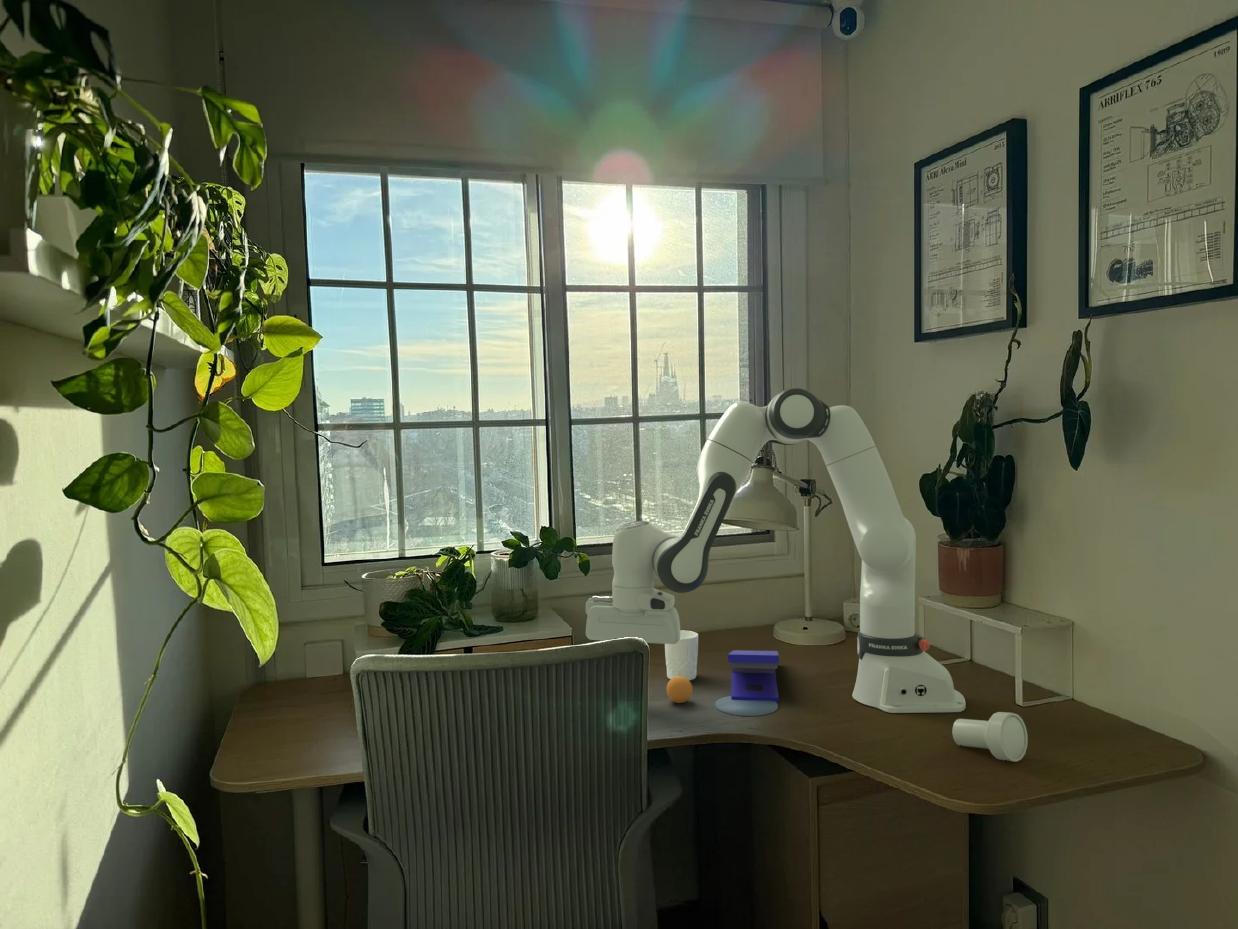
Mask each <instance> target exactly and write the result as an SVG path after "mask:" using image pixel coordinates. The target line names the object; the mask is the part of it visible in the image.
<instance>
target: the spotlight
mask: <svg viewBox="0 0 1238 929" xmlns="http://www.w3.org/2000/svg"><path fill="white" fill-rule="evenodd" d="M951 733H952V738H953V740H954V742H955V744H956V745H958V746H960V745H961V747H969V748H979V749H988V750H989V751H990V753H991V755H992V756H993V757H995V759H997V760H1000V761H1005V760H1007V761H1006V762H1013V763H1014V762H1015V763H1016V762H1018V761H1019V762H1020V761H1021V760H1022V759H1023V758H1024V756H1025V755H1026V754H1027V752H1026V751H1027V748H1028V731H1027V727H1026V724H1025V722H1024V719H1023V718H1022V717H1021V716H1020V715H1019V714H1018V713H1014V712H1007V711H1006V712H1005V711H997V712H995V713H993V714H992V715H991V716H990V717H989V719H988V720H980V719H969V718H957V719H956V720H955V721H954V722H953V726H952V730H951Z"/></svg>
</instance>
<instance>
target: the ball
mask: <svg viewBox="0 0 1238 929" xmlns="http://www.w3.org/2000/svg"><path fill="white" fill-rule="evenodd" d="M690 681H691V680H688V679H687V678H685V677H682V676H676V677H674V678H672V679H669V680H668V681H667V682H668V683H667V685H666V689H665V690H666V694H667V697H668V698H669V699H670V700H671V701H673V702H674V703H677V704H683V703H686V702H687V701H688V700H690V698H691V697H692V694H693V690H694V689H693V685H692V682H690Z"/></svg>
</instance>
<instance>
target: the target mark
mask: <svg viewBox="0 0 1238 929" xmlns="http://www.w3.org/2000/svg"><path fill="white" fill-rule="evenodd" d="M714 708H716V709H717V710H718V711H720V712H722V713H725V714H727V715H732V716H737V717H760V716H766V715H770V714H772V713H775V712H776V711H777V710H778V709H779V705H778V703H777V702H775V701H770V700H734V699H731V695H727V696H724V697H721V698H719V699H717V700H716V701H715V702H714Z"/></svg>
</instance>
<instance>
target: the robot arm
mask: <svg viewBox="0 0 1238 929" xmlns="http://www.w3.org/2000/svg"><path fill="white" fill-rule="evenodd" d="M806 440H807V441H809V442H811V443H813V444H814V446H816V448H817V449H818V451H819V452H820V454H821V456H822V460H823V462H824V464H825V466H826V469H827V472H828V474H829V476H830V479H831V481H832V483H833V487H834V488H835V490H836V493H837V495H838V498H839V501H840V503H841V506H842V509H843V512H844V516H845V518H846V521H847V525H848V528H849V530H850V534H851V536H852V539H853V542H854V544H855V547H856V549H857V552H858V555H859V557H860V558H861V570H860V571H861V572H860V573H861V574H860V575H861V576H860V588H859V590H860V591H859V630H858V632H857V639H856V640H857V645H856V647H857V648H856V649H857V656H858V667H857V673H856V679H855V680H856V681H855V684H854V687H853V691H852V695H851V696H852V699H854V700H855V701H857V702H859V703H860V704H863V705H866V706H869V707H873V708H876V709H879V710H882V711H883V712H885V713H886V712H887V713H890V714H902V713H903V714H905V713H906V714H910V713H913V714H914V713H917V714H918V713H919V714H920V713H961V712H963V711H965V709H966V708H967V707H966V706H967V704H966V699H965V697H964V695H963V694H962V693H961V692H960V691H958V690H956V689H955V688H954V687H955V686H954V681H953V678H952V675H951V674H950V672H949V670H948V669H947V668H946V667H945V666H944V665H943V664H941V663H940V662H939V661H938V660H936V659H935V658H933V657H932V656H931V655H930V654H929V653H927V652H925V651H928V650H929V649H930V647H931V645H930V643H929V641H928V640H927V639H925V637H924V636H922V635H921V634H920V633H917V632H915V631H916V630H915V629H916V628H915V627H916V623H915V622H916V619H915V618H916V617H915V615H916V611H915V610H916V606H915V604H916V603H915V602H916V601H915V600H916V597H915V596H916V549H917V546H916V544H917V543H916V538H917V536H916V531H915V529H914V526H913V524H912V523H911V522H910V521H909V519H907V518H906V517H905V516H904V514H903V510H902V508H901V505H900V503H899V501H898V498H897V495H896V492H895V490H894V489H895V488H894V487H893V484H892V481H891V478H890V476H889V473H888V471H887V469H886V467H885V464H884V462H883V459H882V458H881V455H880V453H879V450H878V449H877V446H876V444H875V441H874V439H873V436H872V435H871V433H870V431H869V430H868V428H867V426H866V424H865V423H864V421H863V419H862V417H861V416H860V415H859V413H858V412H857V410H855V408H853V407H852V406H849V405H843V404H840V405H839V404H838V405H833V406H829V404H826V403H825V402H824V401H822V400H821V399H819V397H817V396H816V395H815V394H814V393H812V392H810V391H808V390H807V389H804V388H800V387H790V388H786V389H783V390H781V391H780V392H779V393H777V394H776V395H775V396H774V397H773V398H772V399H771V400H770V401H769V403H768V404H767V405H766V406H757V405H755V404H753V403H751V402H746V401H738V402H735V403H732V404H731V405H730V406H729V407H728V408H727V409H726V410H725V411H724V413H723V414H722V416H721V417H720V418H719V420H718V421H717V422H716V423H715V425H714V427H713V429H712V430H711V432H710V434H709V436H708V438H707V439H706V441H705V443H704V445H703V447H702V449H701V452H700V455H699V458H698V460H697V463H696V464H697V465H696V467H695V469H696V470H695V471H696V476H697V480H698V487H699V493H698V498H697V501H696V504H695V506H694V508H693V510H692V512H691V514H690V517H689V519H688V521H687V523H686V525H685V528H684V529H683V531H682V533H681V535H680V536H677V535H676V534H675V535H674V534H671V533H668V532H666V531H664V530H661V529H659V528H658V527H656V526H654V525H653V524H652V523H650V522H649V521H645V520H636V521H632V522H631V521H630V522H626V523H623V524H621V525H619V527H618V528H617V529H616V530H615V532H614V534H613V541H612V549H611V552H612V554H611V557H612V560H611V564H612V567H613V578H612V583H611V585H612V586H611V587H612V590H611V592H612V595H611V596H598V595H593V596H592V597H590V598H588V599H587V600H586V602H585V613H586V615H587V618H586V625H585V636H586V637H587V639H589V641H590V640H591V641H592V640H593V641H594V640H595V641H606V640H609V639H614V638H624V637H638V638H643V639H644V640H645V641H646V642H647V643H646V644H660V645H661V644H662V645H665V644H676V643H677V642H678V641H679V639H680V636H681V631H682V630H681V621H680V616H679V615H680V614H679V612H678V610H677V608H676V607H675V606H674V605H675V602H676V600H675V599H676V598H675V595H673V594H671V593H668V592H665V591H662V590H660V589H658V588H655V587H654V582H655V580H660V581H661V583H662V585H663V586H664V587H665V588H666V589H668V590H669V591H672V592H674V593H679V594H684V593H690V592H692V591H695V590H696V589H698V588H699V587H700V586H701V585H702V584H703V583H704V581H705V579H706V578H707V574H708V569H709V558H710V557H709V556H710V552H711V548H712V546H713V543H714V541H715V538H716V536H717V535H718V533H719V530H720V527H721V526H722V523H723V522H724V519H725V517H726V515H727V513H728V510H729V508H730V505H731V503H732V501H733V499H734V498H735V496H736V494H738V491H739V488H741V485H742V484H743V482H744V480H745V479H746V477H747V475H748V474H749V472H750V470H751V468H752V466H753V465H754V463H755V460H756V459H757V456H758V454H759V453H760V451H761V449H762V448H763V446H764V445H766V444H767V443H773V444H779V445H782V446H783V445H784V446H792V445H796V444H800V443H802V442H803V441H806Z"/></svg>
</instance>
